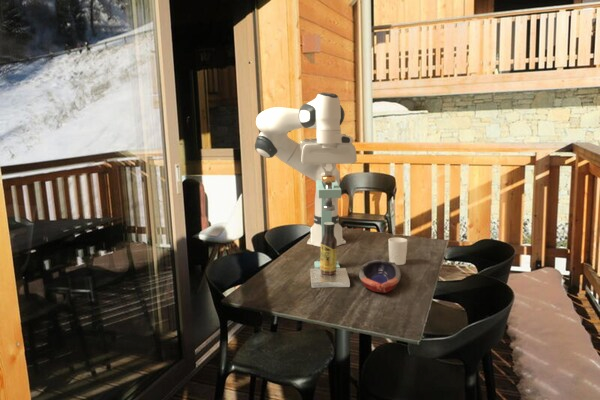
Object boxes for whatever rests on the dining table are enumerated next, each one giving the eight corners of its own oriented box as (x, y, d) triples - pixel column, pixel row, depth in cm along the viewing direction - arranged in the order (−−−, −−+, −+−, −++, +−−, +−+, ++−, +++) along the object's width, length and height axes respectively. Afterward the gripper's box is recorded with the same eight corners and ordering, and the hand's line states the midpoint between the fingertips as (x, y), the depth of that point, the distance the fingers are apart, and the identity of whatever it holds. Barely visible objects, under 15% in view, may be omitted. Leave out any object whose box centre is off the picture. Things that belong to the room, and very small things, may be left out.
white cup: (386, 264, 208) (387, 241, 206) (389, 259, 215) (389, 236, 214) (406, 266, 206) (406, 242, 204) (407, 260, 213) (408, 238, 211)
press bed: (310, 273, 199) (310, 268, 198) (345, 272, 199) (345, 268, 198) (311, 287, 183) (311, 282, 183) (349, 287, 183) (349, 281, 183)
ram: (321, 208, 188) (321, 175, 186) (335, 208, 188) (335, 175, 186) (322, 211, 183) (322, 177, 181) (336, 210, 183) (336, 177, 181)
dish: (400, 270, 201) (400, 258, 200) (400, 298, 172) (400, 285, 171) (361, 268, 204) (362, 256, 203) (355, 296, 175) (355, 282, 174)
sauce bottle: (317, 272, 193) (316, 222, 189) (329, 269, 197) (329, 220, 193) (327, 277, 188) (327, 225, 184) (340, 273, 192) (340, 223, 188)
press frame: (314, 264, 210) (313, 179, 204) (338, 263, 210) (337, 179, 204) (316, 286, 184) (315, 190, 177) (344, 286, 184) (344, 189, 177)
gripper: (300, 139, 178) (300, 177, 180) (357, 138, 178) (357, 176, 181) (299, 138, 184) (300, 175, 187) (355, 137, 184) (355, 174, 187)
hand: (328, 176), depth 184 cm, fingers closed, pressing on ram
